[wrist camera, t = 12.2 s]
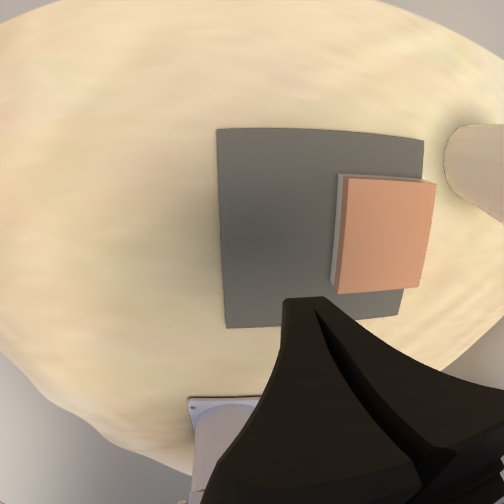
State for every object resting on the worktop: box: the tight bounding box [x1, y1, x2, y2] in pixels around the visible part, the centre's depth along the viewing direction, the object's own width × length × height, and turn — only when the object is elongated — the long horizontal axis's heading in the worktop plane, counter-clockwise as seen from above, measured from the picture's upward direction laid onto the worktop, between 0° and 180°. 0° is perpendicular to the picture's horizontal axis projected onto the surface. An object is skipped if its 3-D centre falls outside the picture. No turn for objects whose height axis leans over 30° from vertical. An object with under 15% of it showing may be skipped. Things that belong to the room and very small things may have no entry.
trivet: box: [217, 128, 424, 328], centre depth 19 cm, size 13×13×1 cm
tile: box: [330, 174, 436, 294], centre depth 18 cm, size 7×2×6 cm
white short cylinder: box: [443, 124, 504, 224], centre depth 14 cm, size 7×7×7 cm
